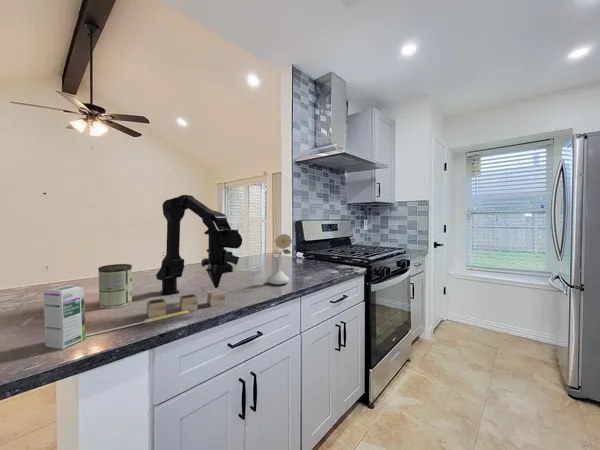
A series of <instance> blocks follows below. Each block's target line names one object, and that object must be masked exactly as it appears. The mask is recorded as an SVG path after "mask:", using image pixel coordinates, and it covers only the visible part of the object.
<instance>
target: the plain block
mask: <svg viewBox="0 0 600 450" xmlns="http://www.w3.org/2000/svg"><path fill="white" fill-rule="evenodd" d="M206 299H207V301H206V303H207V304H208V305H209V306H210V307H211V308H213V307H218V306H224V305H225V304H226V300H225V299H226V294H225V292H224V291H223V290H221V289H218V290H217V289H216V290H211V291H207V298H206Z"/></svg>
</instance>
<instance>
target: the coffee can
mask: <svg viewBox="0 0 600 450" xmlns="http://www.w3.org/2000/svg"><path fill="white" fill-rule="evenodd" d="M132 269H133V265H132V264H130V263H129V264H127V263H117V264H116V263H115V264H108V265H101V266H100V267H99V266H98V269H97V270H98V296H99V297H98V301H99V305H98V307H99V308H100V307H101V309H116V308H121V307H125V306H127V305H130V304H132V302H133V287H132V286H133V277H132V276H133V273H132Z"/></svg>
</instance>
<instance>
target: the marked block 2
mask: <svg viewBox="0 0 600 450" xmlns="http://www.w3.org/2000/svg"><path fill="white" fill-rule="evenodd" d="M179 309H180V312H181V311H186V310H187V311H189V312H191V311H195V310H196V311H197V310H198V296H197V295H196V294H195V293H190V294H183V295H182V294H181V295H179Z"/></svg>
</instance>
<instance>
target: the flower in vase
mask: <svg viewBox="0 0 600 450" xmlns="http://www.w3.org/2000/svg"><path fill="white" fill-rule="evenodd" d="M274 241H275V242H274V243H275V245H276V247H277V248H279V249H282V251H281V252H279V251H278V250H275V249H274V251H275V252H277V253H279V254H278V255H277V254H276V255H275V254H274V255H273V258H274V259H275V270H274V272H272V273H271V274H270V275H269V276H268V277H267V278H266V282H267V283H269V284H271V285H284V284H287V283H289V282H290V277H288V275H286V274H285V273H284V272H283V271H282V269H281V268H282V267H281V265H282V264H281V263H282V259H283V258H284V255H282V253H283V254H285V255H287V254H291V253H292V252H291V250H289V249H287V248H289V247H291V244H292V242H293V239H292V238H291V236H290V235H288V234H285V233H282V234H280V235H277V237H276V238H275V240H274Z"/></svg>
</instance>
